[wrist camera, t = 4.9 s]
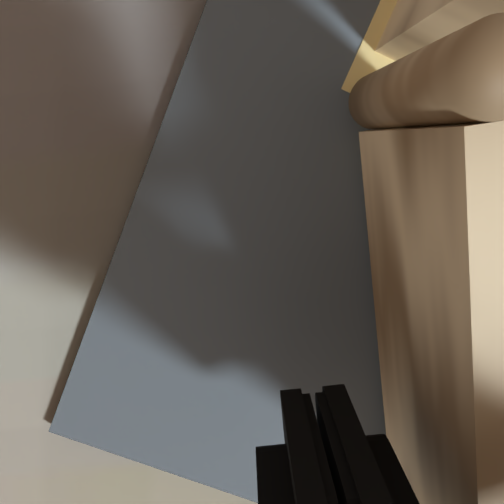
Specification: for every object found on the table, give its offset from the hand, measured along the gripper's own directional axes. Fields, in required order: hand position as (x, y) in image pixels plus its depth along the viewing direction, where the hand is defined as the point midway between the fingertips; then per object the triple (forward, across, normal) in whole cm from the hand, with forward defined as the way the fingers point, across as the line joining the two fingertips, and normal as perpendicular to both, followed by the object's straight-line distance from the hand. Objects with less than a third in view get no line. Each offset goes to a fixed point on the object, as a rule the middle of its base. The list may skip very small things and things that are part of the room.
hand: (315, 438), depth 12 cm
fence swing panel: (+2, -3, -2) cm, 4 cm away
